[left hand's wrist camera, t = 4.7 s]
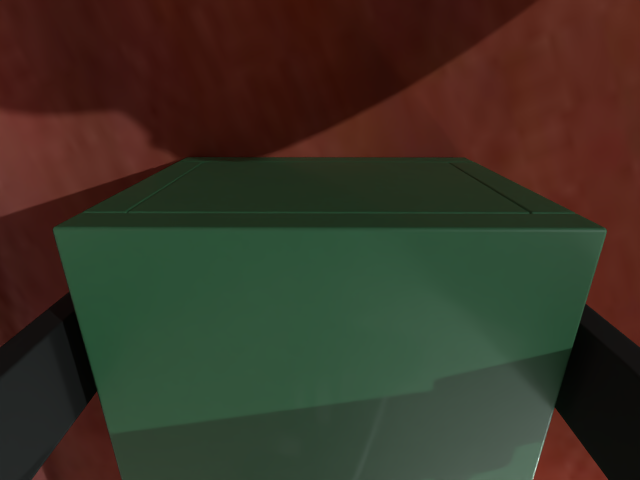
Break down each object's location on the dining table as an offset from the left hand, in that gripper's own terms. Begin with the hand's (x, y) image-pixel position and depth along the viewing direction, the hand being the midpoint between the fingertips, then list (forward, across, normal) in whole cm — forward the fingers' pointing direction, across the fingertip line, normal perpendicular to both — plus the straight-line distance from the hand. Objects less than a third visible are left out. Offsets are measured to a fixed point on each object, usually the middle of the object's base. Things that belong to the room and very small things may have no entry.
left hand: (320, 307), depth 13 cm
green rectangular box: (+5, 0, -6) cm, 8 cm away
